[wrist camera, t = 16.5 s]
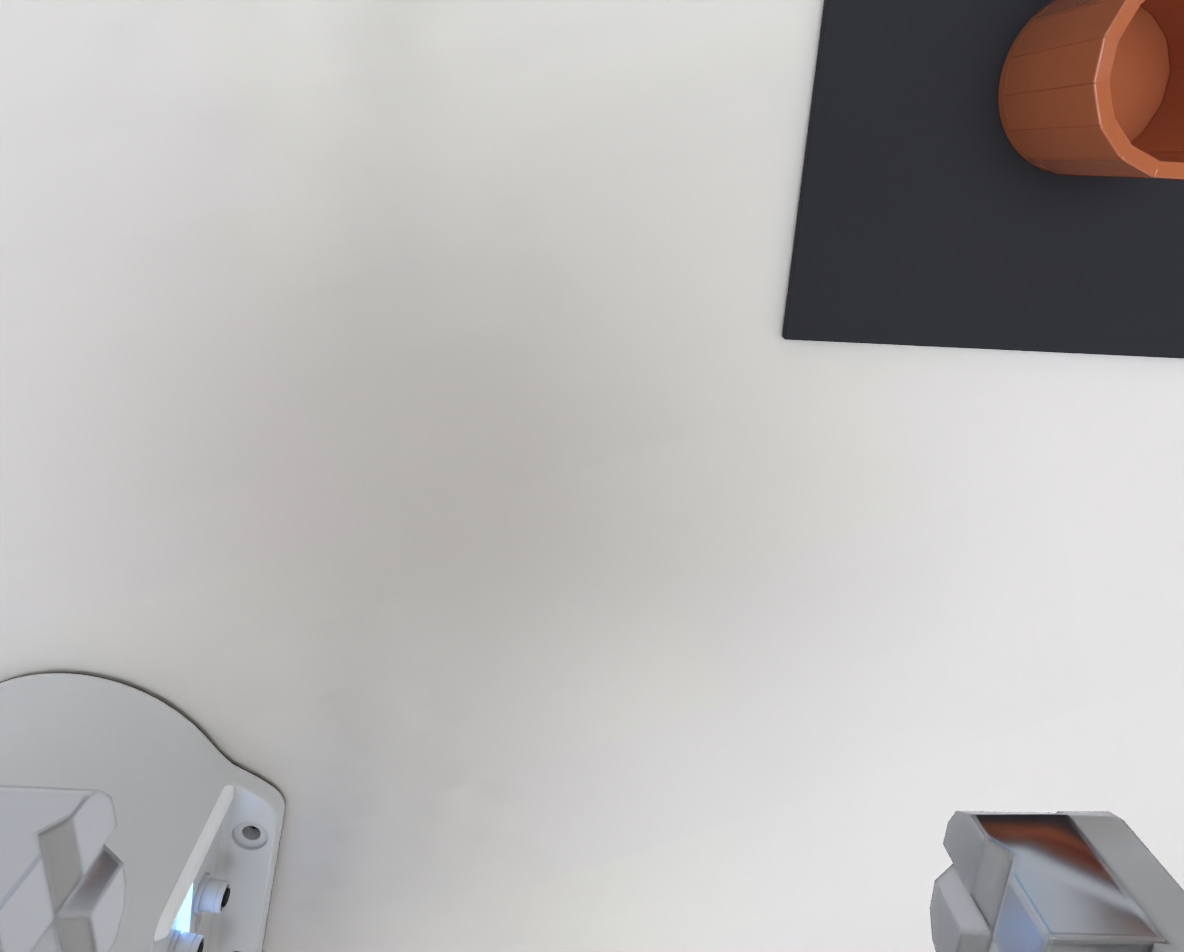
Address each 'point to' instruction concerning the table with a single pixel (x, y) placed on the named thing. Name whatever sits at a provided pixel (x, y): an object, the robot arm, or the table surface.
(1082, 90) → the cup
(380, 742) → the table surface
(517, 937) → the table surface
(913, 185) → the mat
